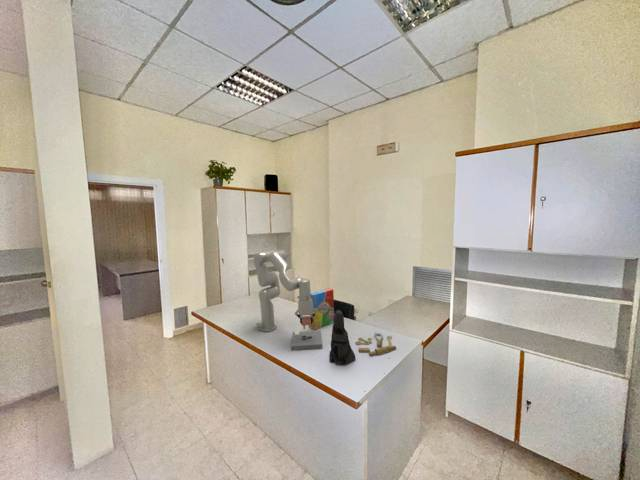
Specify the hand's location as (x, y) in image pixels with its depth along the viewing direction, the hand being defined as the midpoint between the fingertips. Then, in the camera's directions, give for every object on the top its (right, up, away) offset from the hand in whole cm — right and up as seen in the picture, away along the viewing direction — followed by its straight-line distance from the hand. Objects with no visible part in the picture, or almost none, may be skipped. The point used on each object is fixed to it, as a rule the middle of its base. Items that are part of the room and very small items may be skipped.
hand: (306, 323), depth 171 cm
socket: (0, -13, +1) cm, 13 cm away
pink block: (0, -3, 0) cm, 3 cm away
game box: (+11, -11, +27) cm, 31 cm away
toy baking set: (+46, -13, -4) cm, 48 cm away
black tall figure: (+21, -15, -21) cm, 33 cm away
